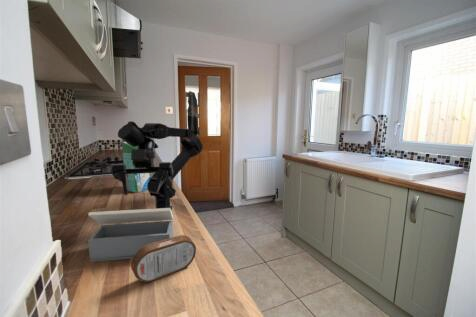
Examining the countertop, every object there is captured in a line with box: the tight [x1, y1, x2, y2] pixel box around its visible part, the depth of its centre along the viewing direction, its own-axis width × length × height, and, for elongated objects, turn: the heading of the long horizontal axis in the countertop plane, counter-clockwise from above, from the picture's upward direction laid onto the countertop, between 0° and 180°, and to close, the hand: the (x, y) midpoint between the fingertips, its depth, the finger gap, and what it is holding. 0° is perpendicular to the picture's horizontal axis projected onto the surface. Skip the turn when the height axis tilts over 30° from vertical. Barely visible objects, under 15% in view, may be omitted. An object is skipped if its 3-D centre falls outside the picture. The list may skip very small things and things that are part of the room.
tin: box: [130, 234, 197, 283], centre depth 55 cm, size 15×3×8 cm, turn 126°
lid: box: [88, 208, 174, 225], centre depth 66 cm, size 9×20×1 cm
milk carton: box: [121, 141, 152, 194], centre depth 119 cm, size 9×9×25 cm
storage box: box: [87, 220, 174, 263], centre depth 65 cm, size 9×20×6 cm, turn 100°
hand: (141, 193), depth 73 cm, fingers open, 9 cm apart
